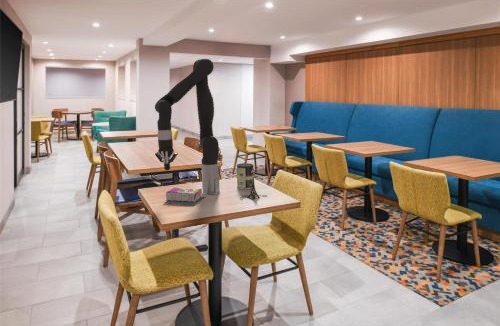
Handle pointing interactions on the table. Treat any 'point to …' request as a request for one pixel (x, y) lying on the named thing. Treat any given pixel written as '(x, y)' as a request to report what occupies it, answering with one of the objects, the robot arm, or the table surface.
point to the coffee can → (244, 176)
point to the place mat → (186, 202)
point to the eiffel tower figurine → (252, 193)
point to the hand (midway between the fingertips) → (167, 170)
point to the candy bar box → (184, 194)
